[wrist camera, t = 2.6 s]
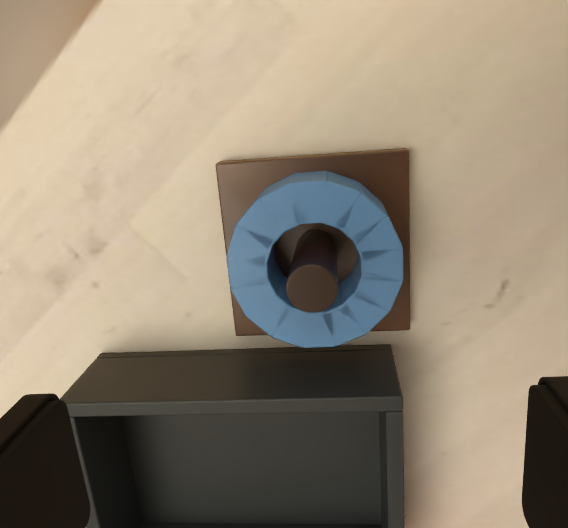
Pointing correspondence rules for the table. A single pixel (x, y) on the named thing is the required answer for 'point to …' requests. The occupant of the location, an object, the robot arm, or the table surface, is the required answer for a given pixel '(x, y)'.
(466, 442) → the table surface
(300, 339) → the tape roll
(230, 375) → the bin
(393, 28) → the table surface
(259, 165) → the peg stand
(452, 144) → the table surface
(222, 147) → the table surface
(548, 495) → the robot arm
